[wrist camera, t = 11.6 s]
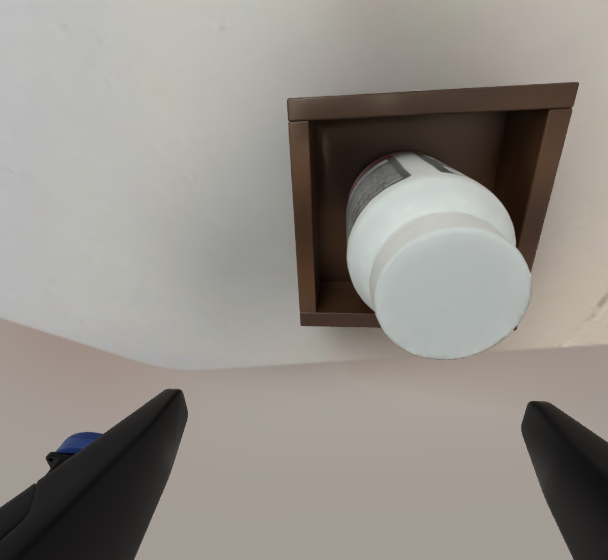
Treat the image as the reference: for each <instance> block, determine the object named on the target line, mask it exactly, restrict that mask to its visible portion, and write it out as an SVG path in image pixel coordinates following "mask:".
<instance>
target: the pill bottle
mask: <svg viewBox="0 0 608 560" xmlns="http://www.w3.org/2000/svg"><path fill="white" fill-rule="evenodd" d="M346 227H347V229H346V235H347V266H348V270H349V274H350V277H351V280H352V283H353V285H354V287H355V289H356V291H357V293H358V294H359V296H360V297H361V299H362V300H363V301H364V302H365V303H366V304H367V305H368V306H369V307H370V308H371V309H372V310H373V311H375V314H376V317H377V320H378V322H379V324H380V326H381V328H382V329H383V331H384V332H385V334H386V335H387V336H388V337H389V338H390V339H391V340H392V341H393V342H394V343H395V344H396V345H397V346H399V347H400V348H402V349H404V350H405V351H407V352H409V353H412V354H414V355H417V356H420V357H424V358H429V359H437V360H452V359H459V358H465V357H469V356H472V355H476V354H478V353H481V352H483V351H485V350H487V349H489V348H491V347H492V346H494V345H496V344H497V343H499V342H500V341H501V340H503V339H504V338H505V337H506V336H508V335H509V334H510V333H511V332H512V331H513V330H514V328H515V327H516V326H517V325H518V324H519V322H520V321H521V319H522V317H523V315H524V313H525V311H526V309H527V307H528V304H529V301H530V296H531V284H532V283H531V276H530V271H529V268H528V265H527V263H526V262H525V260H524V258H523V256H522V254H521V253H520V252H519V250H518V249H517V248H516V238H515V232H514V227H513V224H512V221H511V219H510V216H509V214H508V212H507V210H506V209H505V207H504V206H503V204H502V203H501V202H500V201H499V200H498V198H497V197H496V196H495V195H494V194H493V193H492V192H491V191H489V190H488V189H487V188H485V187H484V186H483V185H481V184H479V183H478V182H476V181H475V180H473V179H471V178H469V177H467V176H465V175H464V174H462V173H460V172H458V171H456V170H455V169H453V168H451V167H450V166H448V165H446V164H444V163H442V162H441V161H439V160H437V159H435V158H433V157H431V156H428V155H426V154H423V153H419V152H412V151H403V152H396V153H391V154H388V155H385V156H383V157H381V158H379V159H377V160H375V161H374V162H372V163H371V164H370V165H369V166H367V167H366V168H365V169H364V170H363V171H362V172H361V173H360V175H359V176H358V177H357V179H356V180H355V182H354V184H353V186H352V188H351V190H350V193H349V197H348V201H347V209H346Z"/></svg>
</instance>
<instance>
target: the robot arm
mask: <svg viewBox="0 0 608 560" xmlns="http://www.w3.org/2000/svg"><path fill="white" fill-rule="evenodd" d="M187 418H188V411H187V406H186V402H185V398H184V394H183V392H182V390H180V389H166V390H164V391H163V392H161V393H160V394H158V395H157V396H156V397H155V398H153V399H151V400H150V401H149V402H147V403H146V404H145V405H143V406H142V407H141V408H139V409H138V410H136V411H135V412H133V413H132V414H131V415H129V416H128V417H126V418H125V419H124V420H122V421H121V422H120V423H118V424H117V425H115V426H114V427H112V428H111V429H110V430H108V431H107V432H106V433H104V434H103V435H101V436H100V437H99V438H97V439H96V440H94V441H93V442H92V443H90V444H89V445H87V446H86V447H85V448H83V449H82V450H80V451H79V452H78V453H62V452H50V453H49V454H48V455H47V456H46V460H47V462H48V464H49V466H50V468H51V469H50V470H49V472H48V473H47V474H46V475H45V476H44V477H43V478H41V479H40V480H39V481H38V482H37V484H33V485H31V486H30V487H29V488H27V489H26V490H25V491H23V492H22V493H20V494H19V495H18V496H16V497H15V498H13V499H12V500H10V501H9V502H7V503H6V504H5V505H3V506H2V507H0V560H134V558H135V556H136V554H137V551H138V549H139V546H140V544H141V542H142V539H143V537H144V535H145V533H146V530H147V528H148V525H149V523H150V520H151V518H152V516H153V514H154V511H155V509H156V507H157V504H158V502H159V500H160V497H161V495H162V493H163V490H164V488H165V486H166V483H167V481H168V478H169V475H170V473H171V470H172V467H173V464H174V461H175V457H176V454H177V451H178V448H179V444H180V441H181V438H182V435H183V432H184V428H185V425H186V422H187ZM521 429H522V430H521V431H522V435H523V438H524V441H525V443H526V447H527V449H528V452H529V455H530V458H531V461H532V463H533V466H534V469H535V472H536V475H537V478H538V481H539V483H540V486H541V489H542V492H543V494H544V497H545V499H546V501H547V504H548V506H549V508H550V510H551V512H552V515H553V517H554V519H555V521H556V523H557V525H558V527H559V529H560V532H561V534H562V536H563V538H564V540H565V542H566V544H567V546H568V548H569V551H570V553H571V555H572V557H573V559H574V560H608V442H607V441H605V440H603V439H602V438H601V437H599V436H598V435H596V434H595V433H593V432H592V431H590V430H589V429H587V428H586V427H585V426H583V425H582V424H580V423H579V422H577V421H575V420H574V419H573V418H571V417H570V416H568V415H567V414H565V413H564V412H563V411H561V410H560V409H558V408H557V407H555V406H554V405H552V404H551V403H549V402H545V401H531V402H529V403H528V405H527V408H526V411H525V415H524V418H523V421H522V426H521Z"/></svg>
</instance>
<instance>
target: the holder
mask: <svg viewBox="0 0 608 560" xmlns="http://www.w3.org/2000/svg"><path fill="white" fill-rule="evenodd" d="M578 86H579V83H578V82H567V83H550V84H532V85H515V86H497V87H480V88H462V89H445V90H427V91H410V92H392V93H375V94H357V95H340V96H322V97H305V98H289V99H287V109H288V120H289V121H290V122H289V123H288V127H289V143H290V159H291V175H292V192H293V208H294V224H295V240H296V257H297V273H298V289H299V306H300V322H301V326H329V327H378V328H381V326H380V324H379V322H378V320H377V317H376V314H375V311H373V310H372V309H371V308H370V307H369V306H368V305H367V304H366V303H365V302H364V301H363V300H362V299H361V297H360V296H359V294H358V293H357V291H356V289H355V287H354V285H353V283H352V280H351V277H350V274H349V270H348V266H347V235H346V229H347V227H346V209H347V201H348V197H349V193H350V190H351V188H352V186H353V184H354V182H355V180H356V179H357V177H358V176H359V175H360V173H361V172H362V171H363V170H364V169H365V168H366V167H367V166H369V165H370V164H371V163H372V162H374V161H375V160H377V159H379V158H381V157H383V156H385V155H388V154H391V153H396V152H403V151H412V152H419V153H423V154H426V155H428V156H431V157H433V158H435V159H437V160H439V161H441V162H442V163H444V164H446V165H448V166H450V167H451V168H453V169H455V170H456V171H458V172H460V173H462V174H464V175H465V176H467V177H469V178H471V179H473V180H475V181H476V182H478V183H479V184H481V185H483V186H484V187H485V188H487V189H488V190H489V191H491V192H492V193H493V194H494V195H495V196H496V197H497V198H498V200H499V201H500V202H501V203H502V204H503V206H504V207H505V209H506V210H507V212H508V214H509V216H510V219H511V221H512V224H513V227H514V232H515V238H516V248H517V249H518V250H519V252H520V253H521V254H522V256H523V258H524V260H525V262H526V263H527V265H528V268H529V271H530V274H531V270H532V266H533V262H534V258H535V254H536V250H537V246H538V242H539V238H540V235H541V231H542V227H543V223H544V219H545V215H546V211H547V207H548V203H549V199H550V195H551V192H552V188H553V184H554V180H555V176H556V172H557V168H558V164H559V160H560V156H561V152H562V149H563V145H564V141H565V137H566V133H567V129H568V125H569V121H570V117H571V113H572V107H573V105H574V101H575V98H576V94H577V90H578ZM516 329H517V326H516V327H515V328H514V330H516Z"/></svg>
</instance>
